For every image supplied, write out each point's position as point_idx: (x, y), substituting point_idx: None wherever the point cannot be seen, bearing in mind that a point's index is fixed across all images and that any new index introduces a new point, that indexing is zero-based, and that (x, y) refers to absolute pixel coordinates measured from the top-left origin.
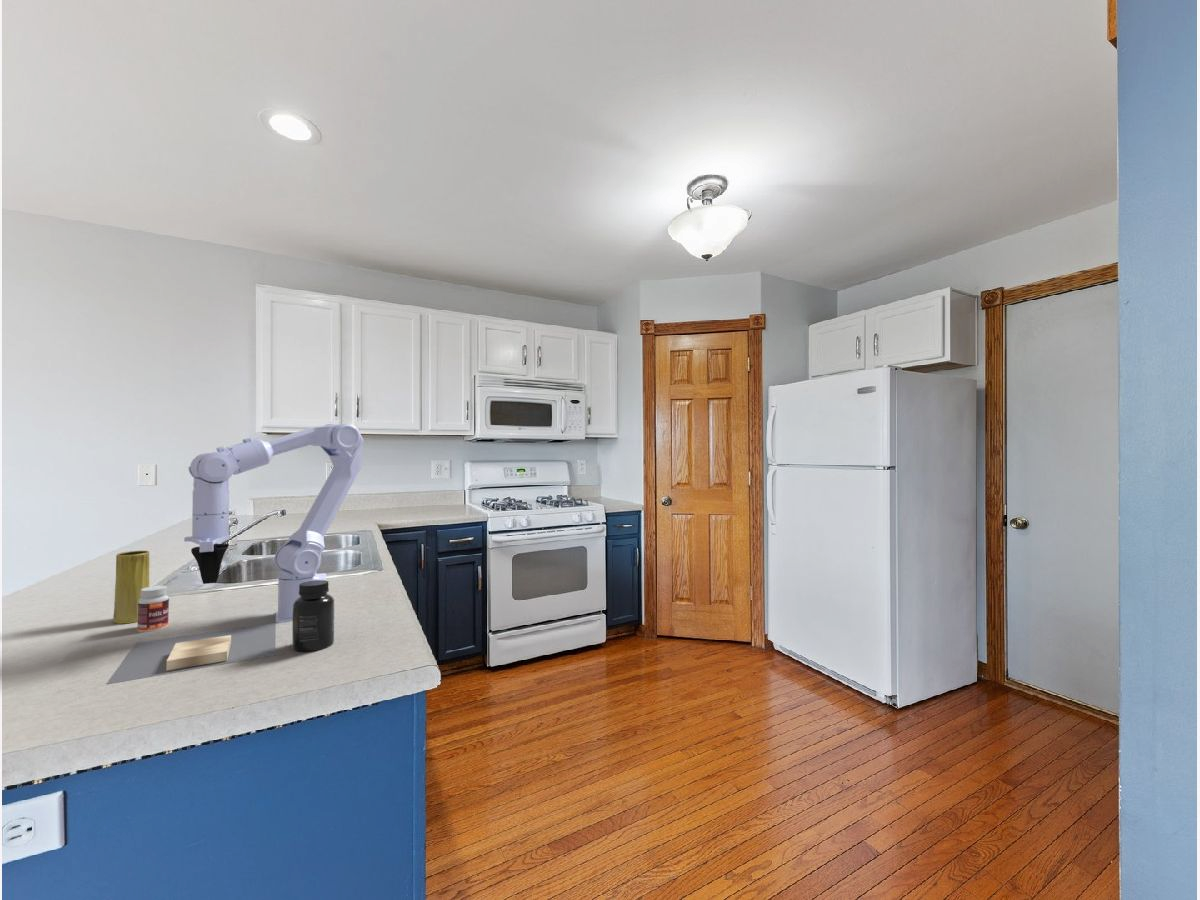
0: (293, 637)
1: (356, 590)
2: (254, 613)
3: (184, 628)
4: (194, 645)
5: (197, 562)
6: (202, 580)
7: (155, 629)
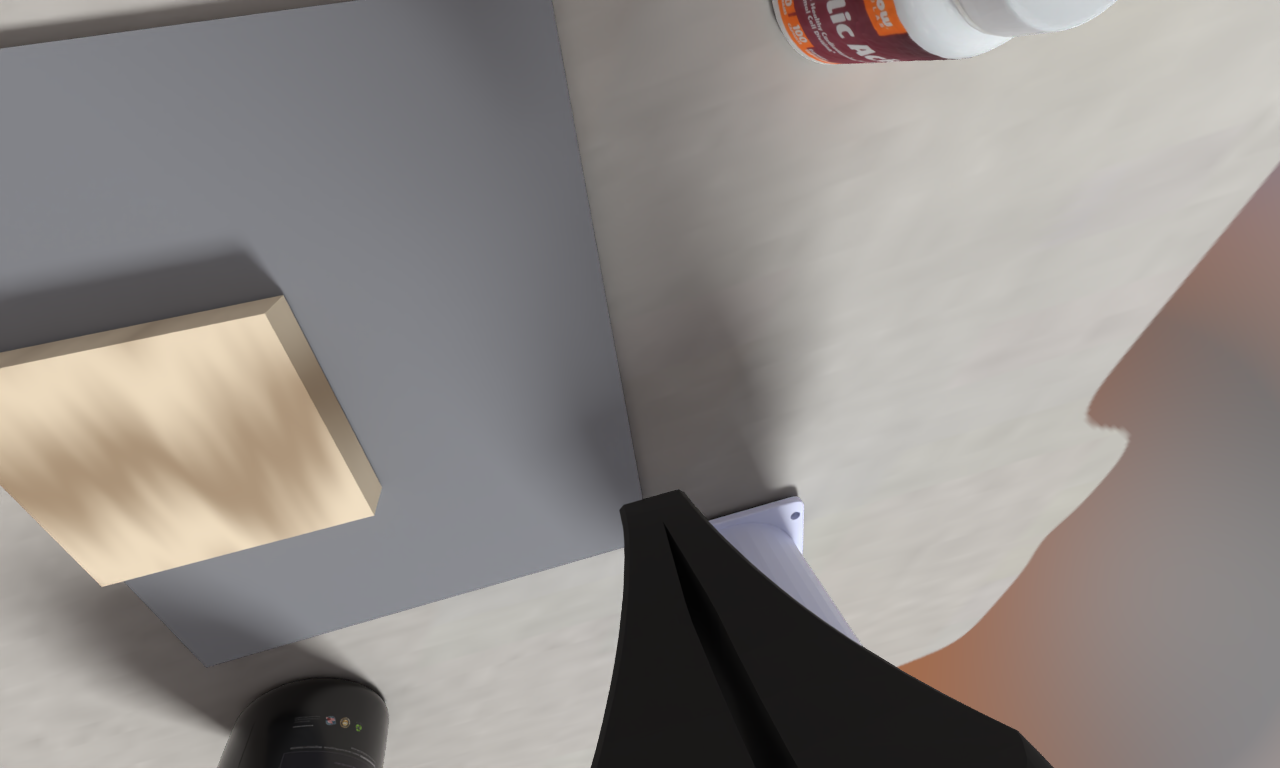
0: (240, 749)
1: (953, 632)
2: (857, 411)
3: (769, 169)
4: (209, 422)
5: (603, 720)
6: (624, 525)
7: (780, 12)
